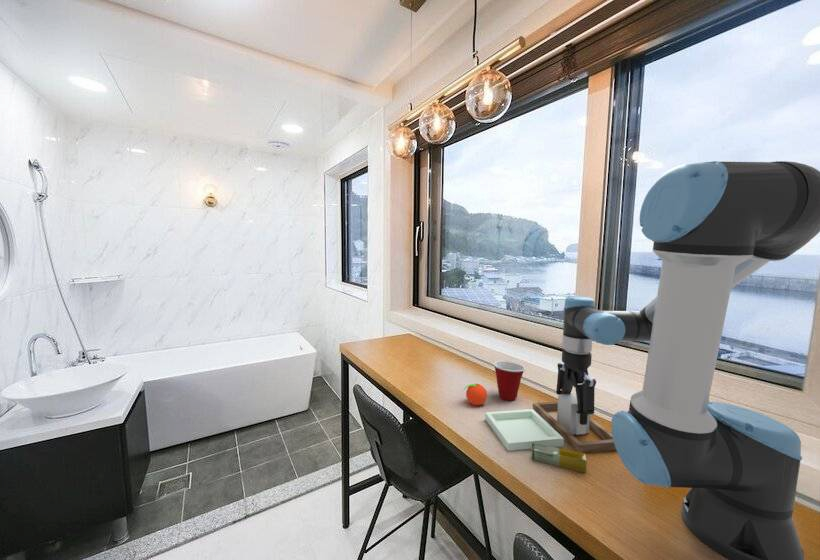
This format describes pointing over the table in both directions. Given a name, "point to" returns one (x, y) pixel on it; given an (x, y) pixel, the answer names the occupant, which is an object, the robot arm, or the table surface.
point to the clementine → (476, 394)
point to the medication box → (559, 457)
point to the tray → (522, 429)
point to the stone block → (569, 412)
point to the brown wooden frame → (569, 438)
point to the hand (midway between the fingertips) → (572, 426)
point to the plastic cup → (508, 379)
